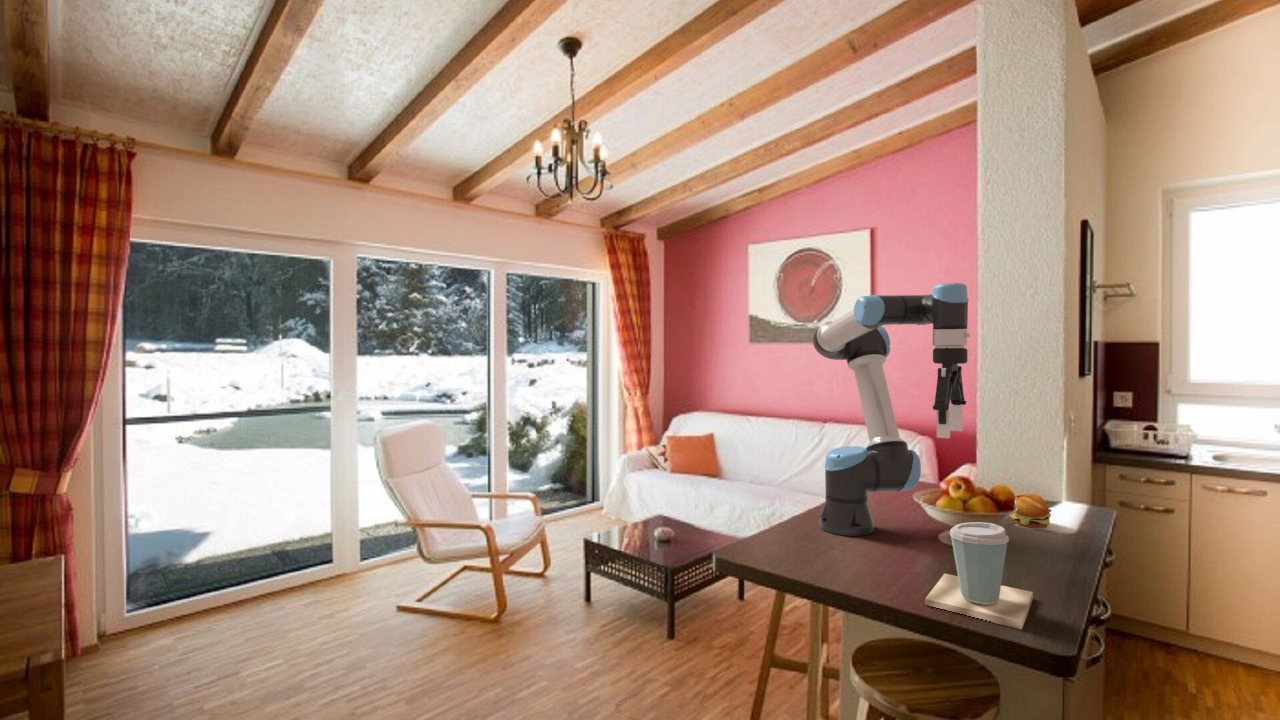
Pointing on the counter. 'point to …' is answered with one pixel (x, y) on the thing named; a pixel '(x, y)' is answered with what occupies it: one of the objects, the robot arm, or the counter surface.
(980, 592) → the disposable coffee cup
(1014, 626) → the birch board
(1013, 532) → the counter surface
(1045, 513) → the cheeseburger
